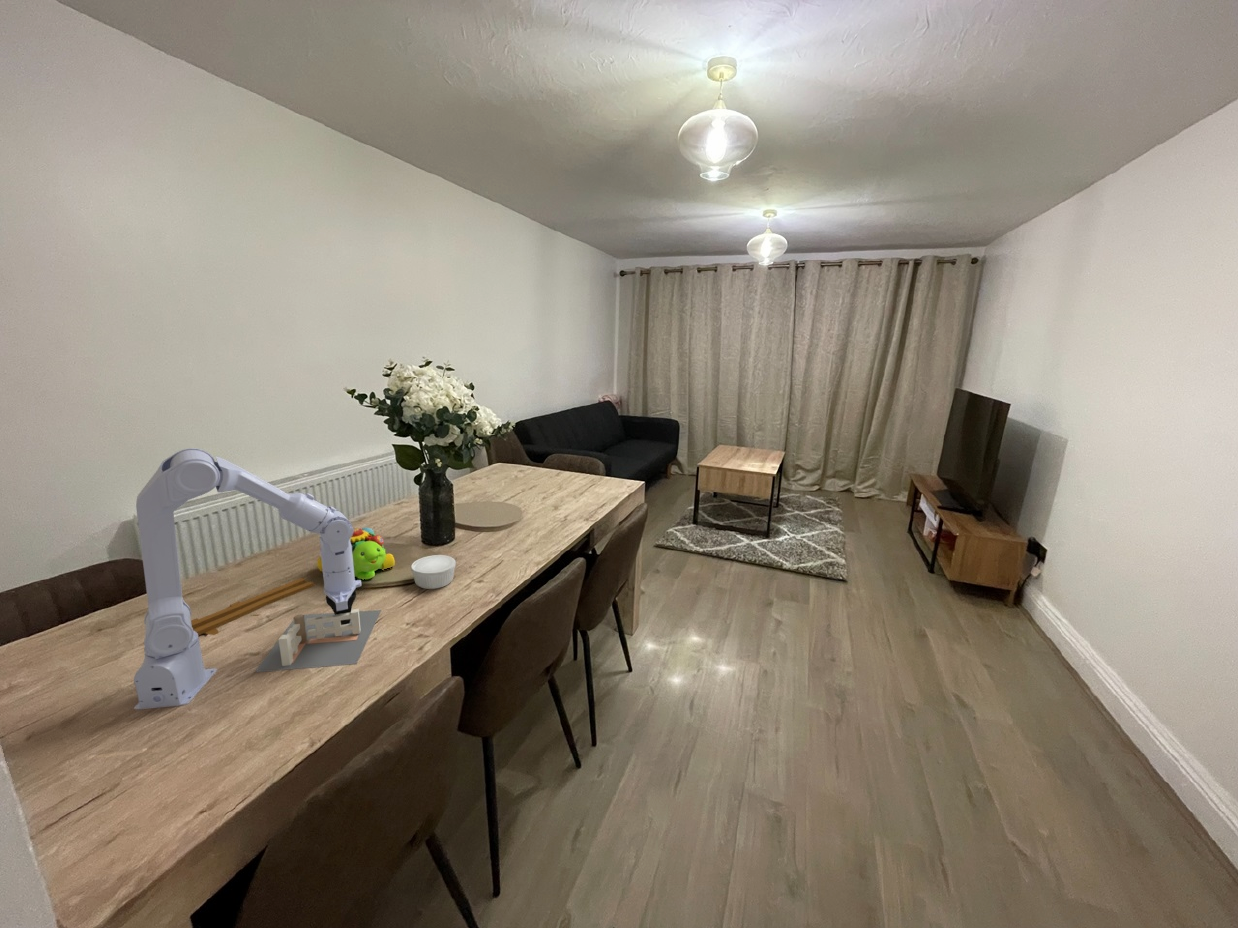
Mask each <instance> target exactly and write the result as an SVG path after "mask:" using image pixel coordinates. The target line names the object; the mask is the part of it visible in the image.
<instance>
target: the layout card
mask: <svg viewBox="0 0 1238 928" xmlns="http://www.w3.org/2000/svg"><path fill="white" fill-rule="evenodd" d="M381 612H382V609H376V610H361V611H360V610H359V617H360V628H361V631H360V633H359V634H353V632H352V630H348V631H342V635H341V636H335V633H328V634H324V638H322V639H317V635H315V636H309V637H308V630H310V629H316V624H312V625H307V624H306V620H307V618H314V617H321V616H328V615H335V614H334V612H329V613H326V612H325V613H313V614H303V615H304V620H305V628H306V636H307V642H306V643H304V644H299V645H298V652H297V653H296V655H293V662H292V664H291V665H288V666H282V660H281V653H280V646H279V639H278V640H277V641H276V643H275V644H274V646H272V648H271V650H270V651H269V652H268V654H267V655H266V656H265V657H264V659H262V661H261V663H260V664H259V665H258V667H257V668H256V670H254V672H253V673H254V674H255V673H264V672H265V673H266V672H276V671H279V672H280V671H291V670H302V669H311V668H312V669H315V668H324V667H325V668H326V667H327V668H328V667H337V666H338V667H339V666H347V665H348V666H350V665H357V663H358V661H359V660H360V658H361V656H362V653H363V651H364V649H365V646H366V645H367V643H368V640H369V639H370V636H371V634H372V632H373V630H374V627H375V625H376V622H377V620H378V619H379V616H380V614H381ZM351 623H352V622H351V619H350V624H351ZM293 625H294V619H293V620H292V621H291V623H290V624H289V625H288V626H287V628H286V629H285V631H283V633H282V635H287V633H288V630H289V629H290V628H292V627H293ZM331 626H334V622H326V623H323V627H331Z"/></svg>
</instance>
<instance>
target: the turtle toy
mask: <svg viewBox="0 0 1238 928" xmlns="http://www.w3.org/2000/svg"><path fill="white" fill-rule="evenodd" d="M350 542H351V545H352V555H353V566H354V576H355V577H356V578H357V579H358V580H361V579H362V580H364V579H365V580H369V579H372V578H374V577H375V575H376V573H375V571H377V570H378V569H386V568H389V567H392V566H394V567H395V565H396V561H395V558H394V555H393V554H391V553H386V548H384V544H385V543H384V542H385V541H384V538H383V537H382V535H378V534H376V533H375V532H374V530H373V529H372V528H370V527H365V526H364V527H362V528H354V532H353V535H352V537H351V538H350ZM316 563H317V565H316V567H317V568H318V570H319V571H320V572H322V573H323V570H322V561H321V556H319V557H318V558H317V561H316ZM362 580H361V581H362Z"/></svg>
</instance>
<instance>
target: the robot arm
mask: <svg viewBox="0 0 1238 928" xmlns="http://www.w3.org/2000/svg"><path fill="white" fill-rule="evenodd" d="M214 457H215V459H216V460H215V459H214ZM214 457H213V456H212V455H211V454H210V452H207V451H205V450H204V449H200V448H195V447H191V448H190V447H189V448H184V449H181V450H178V451H177V452H175V453H174V454H172V455H170V456H169V457H167V458H165V459H164V460H162V462H161V463H160V465H159V467H158V468H157V470H156V471H155V472H154V474H153V475H152V477H151V478H150V479H149V480H148V482H147V483H146V484H145V485H144V487H143V488H142V489H141V490H140V492H139V493H138V495H137V497H136V502H135V503H136V505H135V507H136V508H135V509H136V516H137V523H138V524H137V526H138V532H139V540H140V548H141V556H142V565H143V573H144V581H145V589H146V596H147V608H148V610H147V611H146V613H145V616H144V626H145V627H144V630H145V631H144V637H143V638H144V639H143V646H144V649H143V653H144V658H143V662H142V664H141V665H140V667H139V668H138V670H137V671H136V672H135V674H134V676H133V677H134V678H133V682H134V687H135V691H136V694H137V695H136V696H137V700H138V702H137V704H136V705H135V706H134V707H133V708H134V710H145V709H156V708H167V707H178V706H187V705H188V704H189V703H191V701H193V699H194V698H195V697H196V695H197V694H198V693H199V692H200V691H201V690H202V689H203V688H204V686H206V683H208V682H209V680H211V678H212V677H213V676H214V675H215V673H217V671H218V669H217V668H205V664H204V659H203V653H202V648H201V643H200V638H199V635H198V633H197V632H195V631H193V628H192V624H191V620H192V618H191V616H192V610H191V607H190V606H189V604H188V603H186V602H185V600H184V598H183V590H182V581H181V573H180V571H181V570H180V563H179V561H180V560H179V553H178V545H177V544H178V542H177V533H176V526H175V515H174V512H175V511H176V510H178V509H179V508H180V507H181V506H183V505H184V504H186V503H187V502H188V501H190V500H192V499H195V498H198V497H200V496H203V495H204V494H207V493H209V492H211V491H213V490H214V489H216V492H217V493H226V492H232V491H238V492H240V493H242V494H245V495H247V496H249V497H252V498H254V499H255V500H258V501H260V502H262V503H265V504H267V505H269V506H272V507H274V508H276V509H278V513H279V517H280V519H282V520H285V521H287V522H289V523H290V524H292V525H295V526H297V527H298V528H299V527H300V528H301V529H303V530H305V531H307V532H310V533H314V534H318V535H319V543H320V549H319V550H320V551H319V552H320V557H321V561H322V570H323V572H322V577H323V586H324V587H323V593H324V594H325V602H326V604H327V605H328V607H330V608H331V610H332V613H334V614H335V615H336V614H343V613H350V612H351V610H353V609H352V607H353V605H354V602H355V600H356V598H357V590H356V588H360V587H362V580H361V579H357V580H356V578H355V576H354V566H353V555H352V545H351V542H350V538H351V537H352V535H353V532H354V529H355V528H354V527H353V525H352V523H351V521H350V520H349V519H348V518H347V517H346V515H344V513H342V512H341V511H339V509H338V508H337V509H336V508H335V507H333V506H331V505H330V506H326V505H325V504H323V503H320V502H319V501H317V500H315V496H314V495H312V494H311V493H309V492H307V493H306V494H304V493H302V492H293V493H287V492H285V491H283V490H281V489H280V488H279V487H277V486H275V485H273V484H272V483H269V482H267V481H266V480H265V479H262V478H260V477H259V476H258V475H255V474H253V472H250V471H248V470H246V469H245V468H243V467H241V466H239V465H237V464H235V463H233V462H231V461H229V460H227V459H225V458H223V457H220V456H217V455H215V456H214ZM344 624H350V619H347V620H341V625H344Z"/></svg>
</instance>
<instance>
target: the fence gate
mask: <svg viewBox="0 0 1238 928" xmlns="http://www.w3.org/2000/svg"><path fill="white" fill-rule="evenodd" d="M359 611H360V609H359V608H355V609H354V608H353V609H351V612H350V613H343V614H336V615H328V616H321V617H314V618H307V620H306V624H307V625H312V624H316V629H310V630H308V637H309V636H315V635H317V639H322V638H324V634H328V633H335V636H341V635H342V631H348V630H352V632H353V634H359V633H360V631H361V628H360V617H359ZM347 619H351V622H352V623H351V624H344V625H341V620H347ZM326 622H334V626H331V627H323V623H326Z"/></svg>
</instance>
